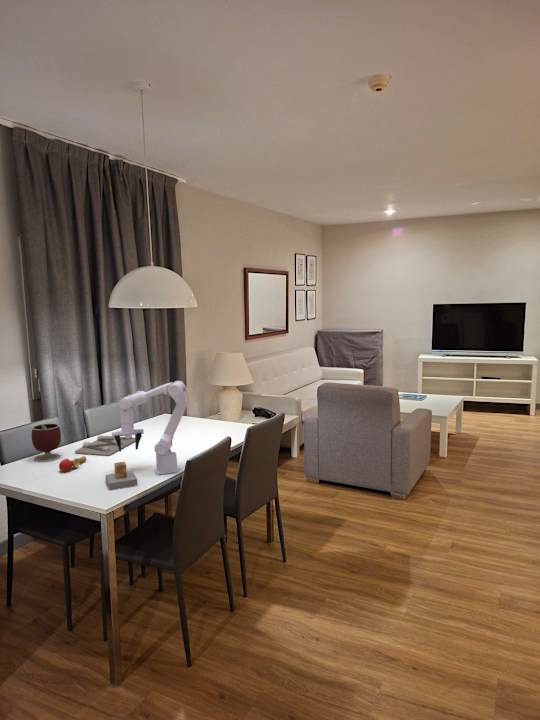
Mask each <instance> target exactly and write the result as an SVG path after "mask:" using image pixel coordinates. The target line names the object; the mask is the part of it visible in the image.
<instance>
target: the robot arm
mask: <svg viewBox="0 0 540 720" xmlns="http://www.w3.org/2000/svg"><path fill="white" fill-rule="evenodd" d="M162 394H163V395H166V396H168V395H169V396H170V397H171V398H172V399H173V400H174V402H175V404H176V405H175V407H174V409H173V411H172V413H171V415H170V418H169V421H168V422H167V425H166V427H165V429H164V432H163V434H162V436H161V437H160V439H159V441H158V442H156V444H155V445H154V447H153V448H154V452H155V458H156V459H155V463H156V468H154V472H155V473H156V474H157V475H158V474H161V475H166V474H167V475H168V474H173V473H178V471H179V470H178V457H177V453H176V452H175V451H172V449H171V448H172V446H173V439H174V436H175V434H176V431H177V429H178V427H179V424H180V422H181V421H182V418H183V416H184V414H185V413H184V412H186V409H187V407H188V404H189V398H188V389H187V386H186V385H185V383H184V382H183V381H182V380H175V381H174V382H173V381H172V382H168V383H164V384H162V385H159V386H157V387H155V388H152V389H150V390H147V391H145V390H137V391H136V393H133V394H128V395H127V396H125V397H122V398H121V399H120V400H119V401H118V403H117V404H118V409H120V410H119V411H120V430H119V431H114V432H111V436H112V438H113V437H114V438H115V440H116V442H117V444H118V447H119V452H120V453H121V452H122V449H121V439H120V437H124V436H126V435H132V436H133V435H134V438H135V450H138V449H139V445H140V441H141V439H142V437H143V435H144V433H145V432H144V431H145V430H144V429H143V428H140V429H139V428H138V429H135V427H134V424H135V423H134V407H137V406H140V405H142V404H144V403H147V402H148V399H150V398H153V397H155V396H159V395H162Z"/></svg>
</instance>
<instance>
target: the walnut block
mask: <svg viewBox="0 0 540 720" xmlns="http://www.w3.org/2000/svg"><path fill="white" fill-rule="evenodd" d="M113 464H114V474H115V477H116V479H121V478H127V472H128V471H127V470H128V467H127V463H126V462H125V461H119V462H114V463H113Z"/></svg>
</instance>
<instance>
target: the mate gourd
mask: <svg viewBox="0 0 540 720" xmlns="http://www.w3.org/2000/svg"><path fill="white" fill-rule="evenodd" d="M61 431H62V430H61V427H60V424H58V423H51V422H50V423H42V424H41V423H40V424H37V425H34V426H32V428H31V435H30V436H31V443H32V446H33V448H35V450H36V451H37V452H42V453H44V454H42V455H38V456H37V457H35V458H34V461H35V462H36V461H37V463H50V461H51V462H55V461H58V460H60V459H61V458H60V457H62V456H61V455H60V454H59V453H51V452H52V451H54V450H57V449H58V448H59V446H60V445H61V441H62V432H61ZM59 458H60V459H59ZM57 459H58V460H57Z"/></svg>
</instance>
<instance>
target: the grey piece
mask: <svg viewBox="0 0 540 720" xmlns="http://www.w3.org/2000/svg"><path fill="white" fill-rule="evenodd" d="M120 439H121V450H122V449H124V448H126V447H128V446H130V445H131V444H133V443H136V441H135V437H133V435H126V436H120ZM129 444H130V445H129ZM118 451H119V447H118V444H117V442H116V440H115V438H114V437H113V438H112V435H103V434H99V435H98V436H97V439H95V440H94V441H91V442H90V440H86V441H85V442H84V441H83V443H82V445H81V447H80V448H78V449H76V450H75V451H74V453H75V454H79V455H89V454H90V455H92V456H102V455H103V456H105V457H109V456H112V455H113V454H115V453H118ZM119 452H120V451H119ZM111 454H112V455H111Z"/></svg>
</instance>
